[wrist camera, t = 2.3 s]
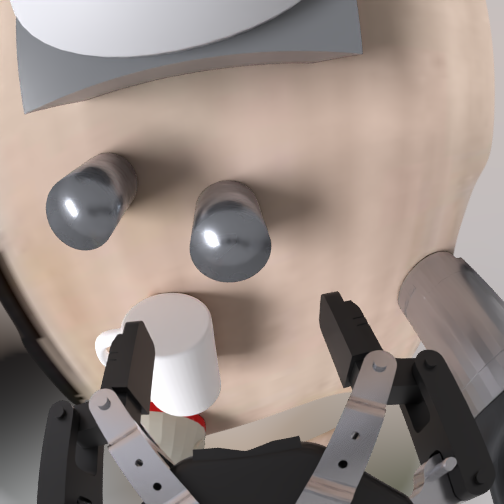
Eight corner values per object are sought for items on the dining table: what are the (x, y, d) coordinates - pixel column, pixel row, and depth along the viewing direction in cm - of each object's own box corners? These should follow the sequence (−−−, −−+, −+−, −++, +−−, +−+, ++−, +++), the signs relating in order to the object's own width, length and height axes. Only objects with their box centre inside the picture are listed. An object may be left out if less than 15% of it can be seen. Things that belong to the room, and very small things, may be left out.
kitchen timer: (204, 404, 38) (208, 499, 25) (206, 438, 45) (210, 511, 33) (112, 397, 36) (99, 487, 23) (132, 433, 43) (126, 504, 30)
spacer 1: (129, 146, 20) (101, 167, 14) (144, 206, 22) (124, 243, 17) (74, 161, 19) (36, 187, 14) (90, 217, 22) (61, 255, 17)
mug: (211, 289, 27) (212, 356, 20) (219, 356, 32) (223, 416, 26) (94, 294, 26) (69, 354, 19) (121, 357, 31) (110, 413, 25)
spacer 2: (255, 176, 22) (268, 206, 17) (261, 233, 25) (273, 276, 20) (190, 185, 22) (182, 218, 17) (201, 242, 24) (198, 287, 19)
